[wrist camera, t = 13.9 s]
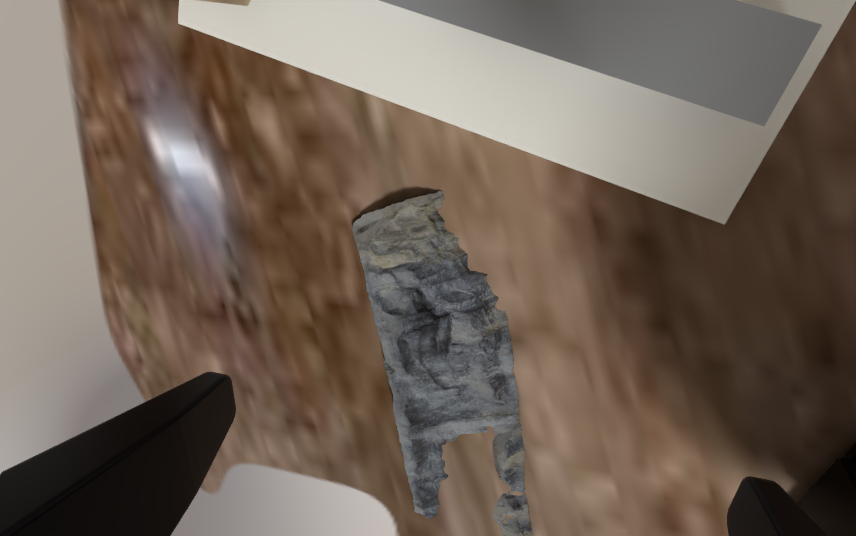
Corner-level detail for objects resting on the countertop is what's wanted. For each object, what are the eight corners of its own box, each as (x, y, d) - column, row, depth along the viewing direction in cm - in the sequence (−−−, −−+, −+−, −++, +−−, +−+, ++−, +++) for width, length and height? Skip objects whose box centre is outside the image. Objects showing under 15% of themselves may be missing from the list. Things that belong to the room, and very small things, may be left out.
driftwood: (354, 191, 23) (331, 204, 22) (506, 179, 21) (493, 193, 19) (425, 545, 30) (411, 577, 29) (545, 569, 28) (538, 605, 26)
